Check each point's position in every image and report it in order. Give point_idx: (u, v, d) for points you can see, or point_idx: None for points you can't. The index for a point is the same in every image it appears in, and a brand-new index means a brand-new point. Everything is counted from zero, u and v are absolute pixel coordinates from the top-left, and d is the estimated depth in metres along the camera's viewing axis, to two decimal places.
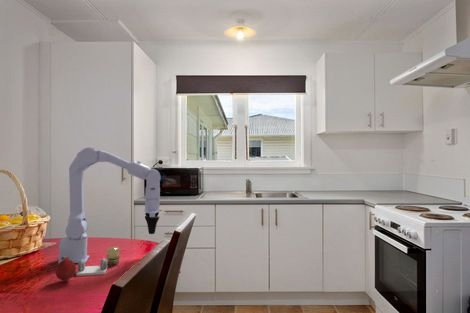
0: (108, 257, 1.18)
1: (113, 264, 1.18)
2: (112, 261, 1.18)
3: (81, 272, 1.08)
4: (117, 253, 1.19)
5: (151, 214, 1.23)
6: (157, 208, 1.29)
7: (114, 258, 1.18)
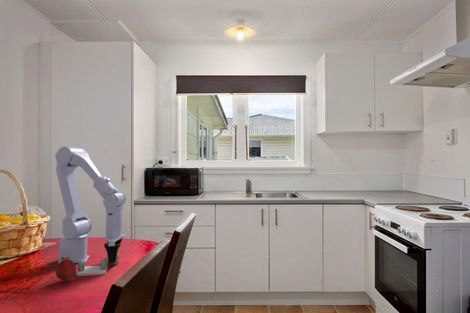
0: None
1: (113, 264, 1.18)
2: None
3: (81, 272, 1.08)
4: (117, 253, 1.19)
5: (110, 243, 1.13)
6: (119, 235, 1.18)
7: None
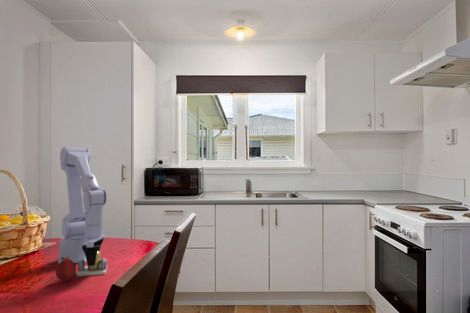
0: None
1: (94, 269, 1.10)
2: (93, 266, 1.10)
3: (81, 272, 1.08)
4: (99, 257, 1.11)
5: (88, 244, 1.04)
6: (98, 235, 1.10)
7: (95, 263, 1.10)
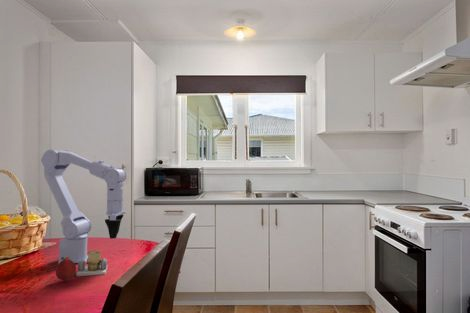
0: (89, 262, 1.09)
1: (94, 269, 1.10)
2: (93, 266, 1.10)
3: (81, 272, 1.08)
4: (98, 257, 1.11)
5: (111, 217, 1.14)
6: (120, 210, 1.19)
7: (95, 263, 1.10)
